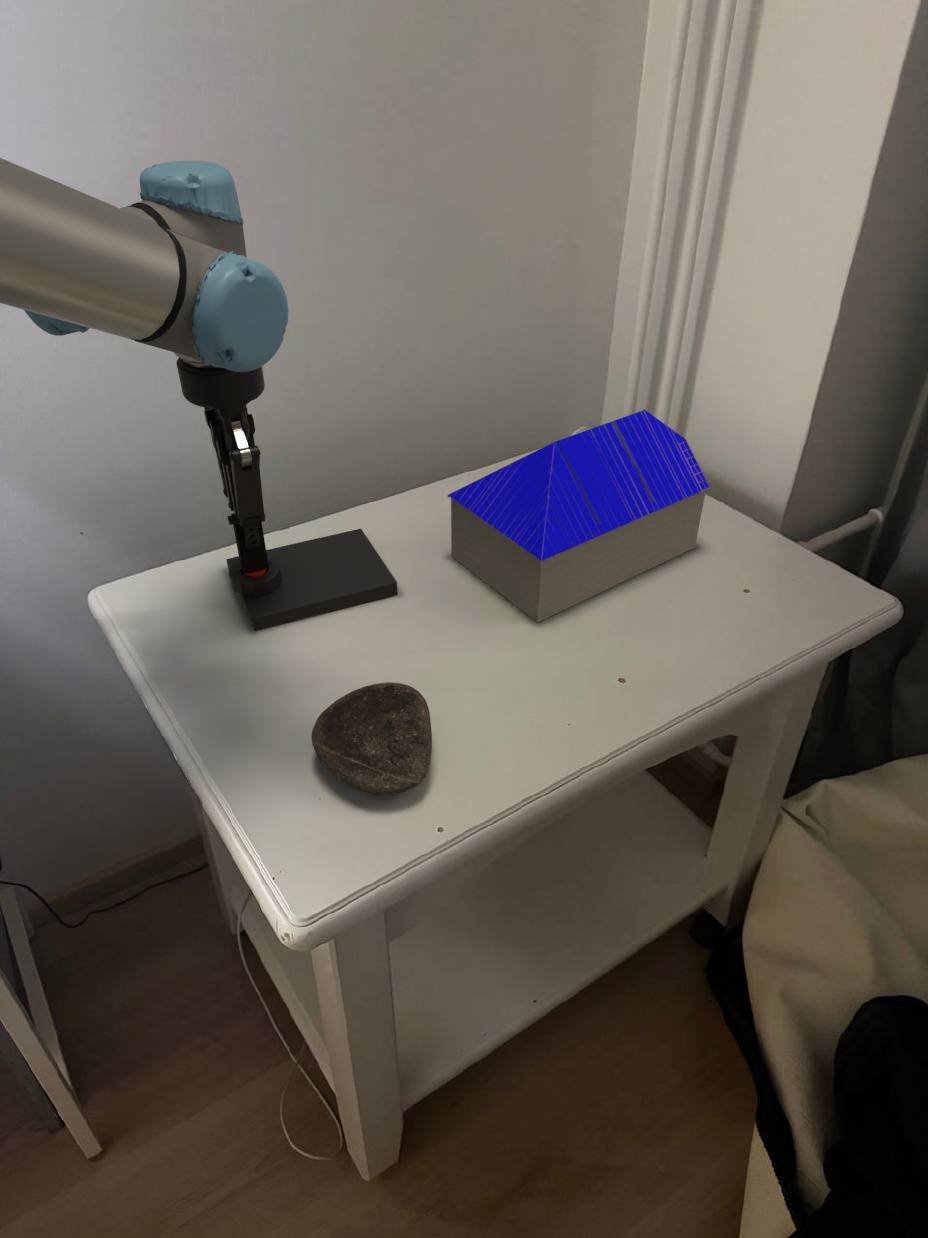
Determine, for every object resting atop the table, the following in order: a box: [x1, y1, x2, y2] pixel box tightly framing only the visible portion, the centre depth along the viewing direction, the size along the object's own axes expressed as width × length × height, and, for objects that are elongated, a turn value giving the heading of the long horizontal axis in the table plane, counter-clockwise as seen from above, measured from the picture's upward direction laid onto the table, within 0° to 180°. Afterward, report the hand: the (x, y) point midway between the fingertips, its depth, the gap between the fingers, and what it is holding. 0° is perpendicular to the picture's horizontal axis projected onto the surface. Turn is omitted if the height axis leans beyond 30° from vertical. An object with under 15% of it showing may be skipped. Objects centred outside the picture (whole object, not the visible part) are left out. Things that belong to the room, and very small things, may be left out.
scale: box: [226, 528, 398, 632], centre depth 98 cm, size 17×12×4 cm
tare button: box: [243, 568, 267, 578], centre depth 96 cm, size 2×2×2 cm
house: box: [447, 408, 711, 623], centre depth 100 cm, size 25×16×16 cm, turn 126°
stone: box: [311, 681, 433, 796], centre depth 77 cm, size 11×11×5 cm
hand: (254, 566), depth 95 cm, fingers closed
